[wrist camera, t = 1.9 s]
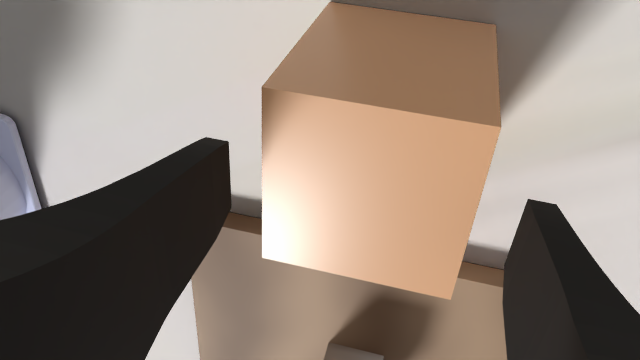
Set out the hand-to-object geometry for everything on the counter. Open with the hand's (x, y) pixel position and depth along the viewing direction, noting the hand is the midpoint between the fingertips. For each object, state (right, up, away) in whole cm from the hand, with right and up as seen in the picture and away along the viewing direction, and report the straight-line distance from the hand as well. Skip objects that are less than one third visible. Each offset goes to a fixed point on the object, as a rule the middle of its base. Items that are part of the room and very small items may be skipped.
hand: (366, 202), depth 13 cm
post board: (+1, -8, +13) cm, 15 cm away
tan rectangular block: (+2, +4, +5) cm, 7 cm away
